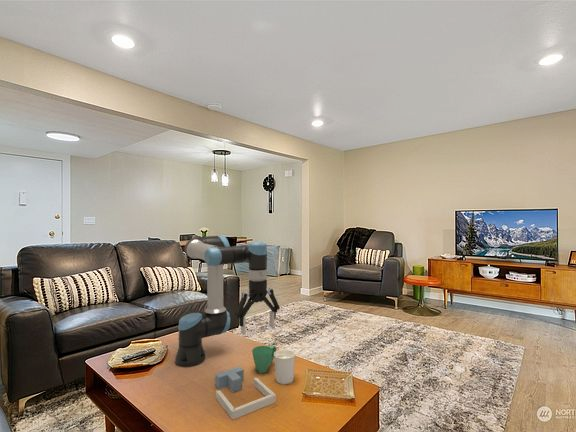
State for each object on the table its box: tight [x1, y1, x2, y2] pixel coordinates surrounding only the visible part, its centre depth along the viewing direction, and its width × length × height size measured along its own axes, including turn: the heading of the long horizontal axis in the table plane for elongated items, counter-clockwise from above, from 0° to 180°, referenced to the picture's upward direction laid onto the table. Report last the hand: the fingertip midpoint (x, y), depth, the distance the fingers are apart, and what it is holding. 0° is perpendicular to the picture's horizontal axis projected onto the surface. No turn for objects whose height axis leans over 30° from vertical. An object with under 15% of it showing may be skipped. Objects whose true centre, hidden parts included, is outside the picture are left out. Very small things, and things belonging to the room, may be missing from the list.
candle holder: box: [273, 348, 296, 385], centre depth 141 cm, size 10×10×12 cm
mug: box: [251, 344, 277, 374], centre depth 152 cm, size 15×10×10 cm
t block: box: [214, 366, 245, 393], centre depth 136 cm, size 10×12×5 cm
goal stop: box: [215, 377, 277, 420], centre depth 125 cm, size 16×19×3 cm
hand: (258, 330), depth 128 cm, fingers open, 13 cm apart
